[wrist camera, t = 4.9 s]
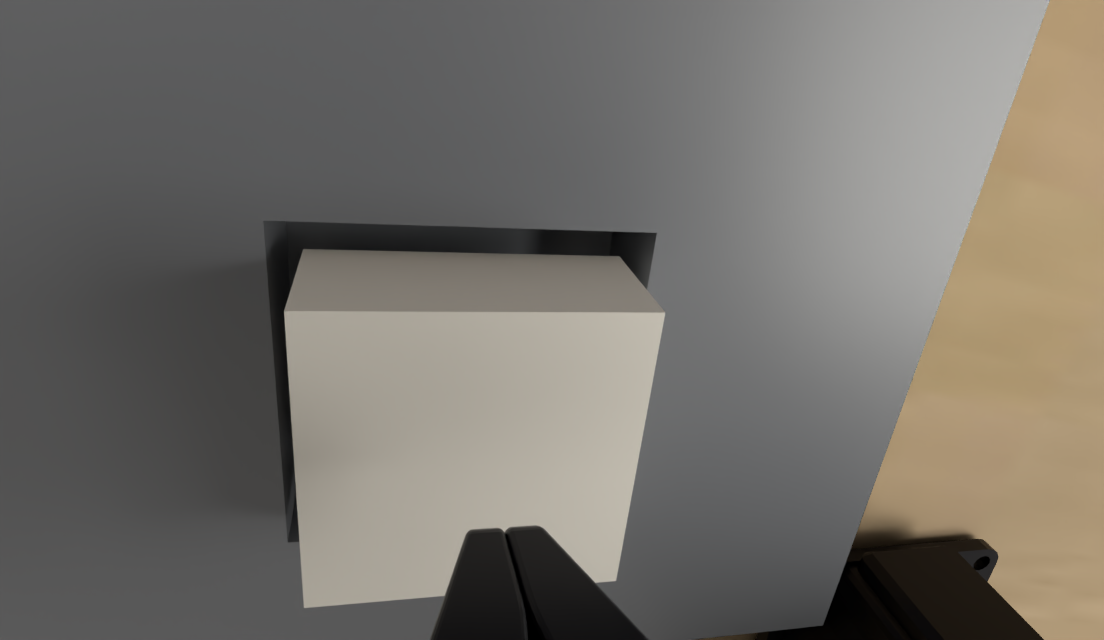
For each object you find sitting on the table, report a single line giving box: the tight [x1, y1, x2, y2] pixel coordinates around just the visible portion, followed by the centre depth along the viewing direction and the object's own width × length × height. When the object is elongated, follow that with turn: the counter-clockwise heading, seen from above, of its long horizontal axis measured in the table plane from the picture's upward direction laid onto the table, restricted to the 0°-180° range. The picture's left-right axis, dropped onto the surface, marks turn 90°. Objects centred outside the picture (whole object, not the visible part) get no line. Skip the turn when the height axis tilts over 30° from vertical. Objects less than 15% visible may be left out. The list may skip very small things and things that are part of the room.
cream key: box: [284, 249, 665, 608], centre depth 10 cm, size 4×4×2 cm
